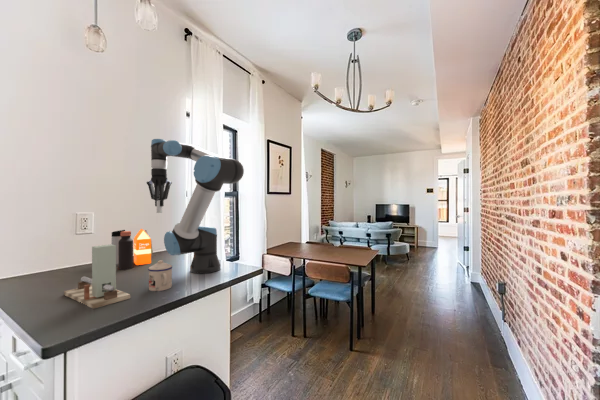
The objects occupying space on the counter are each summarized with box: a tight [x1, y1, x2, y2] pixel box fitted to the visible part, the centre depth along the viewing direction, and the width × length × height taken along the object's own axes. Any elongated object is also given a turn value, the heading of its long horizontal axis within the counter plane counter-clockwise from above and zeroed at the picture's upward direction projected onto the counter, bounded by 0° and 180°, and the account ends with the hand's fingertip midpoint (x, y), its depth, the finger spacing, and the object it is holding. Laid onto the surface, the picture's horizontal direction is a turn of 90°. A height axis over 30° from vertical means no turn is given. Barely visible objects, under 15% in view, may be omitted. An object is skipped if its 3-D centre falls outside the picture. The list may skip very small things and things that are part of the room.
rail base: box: [63, 281, 131, 309], centre depth 107 cm, size 26×12×6 cm, turn 57°
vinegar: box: [118, 230, 134, 271], centre depth 152 cm, size 7×7×20 cm
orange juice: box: [133, 228, 152, 266], centre depth 165 cm, size 8×9×20 cm
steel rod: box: [80, 275, 114, 292], centre depth 107 cm, size 24×2×2 cm, turn 57°
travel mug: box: [111, 229, 126, 267], centre depth 161 cm, size 6×7×20 cm
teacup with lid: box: [147, 259, 173, 292], centre depth 116 cm, size 12×9×12 cm
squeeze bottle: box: [144, 229, 154, 257], centre depth 178 cm, size 8×8×18 cm
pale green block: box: [91, 244, 117, 297], centre depth 104 cm, size 4×6×18 cm, turn 147°
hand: (159, 212), depth 149 cm, fingers closed
